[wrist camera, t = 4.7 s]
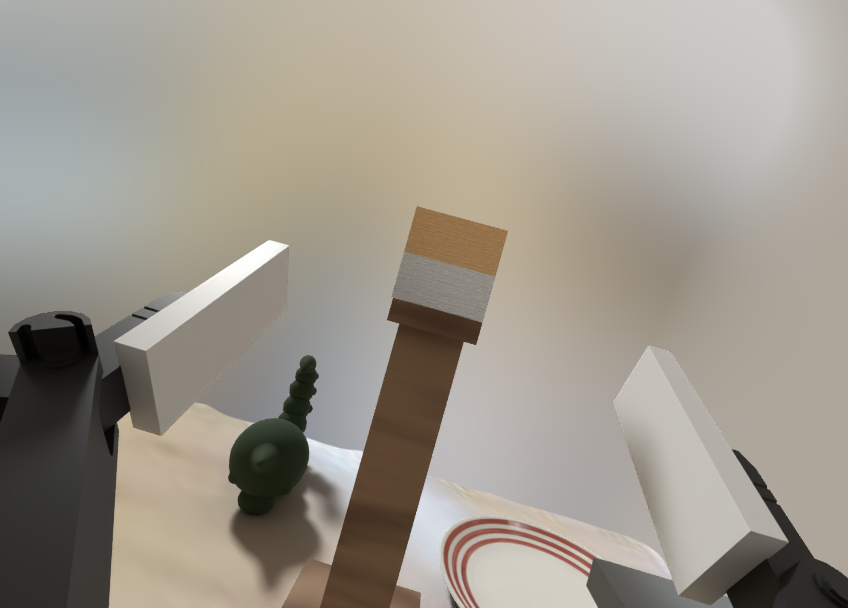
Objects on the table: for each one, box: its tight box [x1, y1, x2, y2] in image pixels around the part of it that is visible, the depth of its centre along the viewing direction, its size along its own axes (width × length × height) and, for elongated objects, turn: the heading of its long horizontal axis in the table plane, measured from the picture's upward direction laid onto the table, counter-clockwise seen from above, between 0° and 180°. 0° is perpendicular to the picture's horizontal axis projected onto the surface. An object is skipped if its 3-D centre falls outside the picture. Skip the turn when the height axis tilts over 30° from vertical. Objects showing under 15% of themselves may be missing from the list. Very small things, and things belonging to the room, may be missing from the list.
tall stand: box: [282, 298, 482, 608], centre depth 33 cm, size 16×12×30 cm
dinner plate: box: [439, 515, 606, 608], centre depth 46 cm, size 27×27×3 cm
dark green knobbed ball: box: [228, 355, 319, 514], centre depth 56 cm, size 9×19×25 cm
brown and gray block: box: [392, 207, 508, 322], centre depth 28 cm, size 22×4×4 cm, turn 178°
